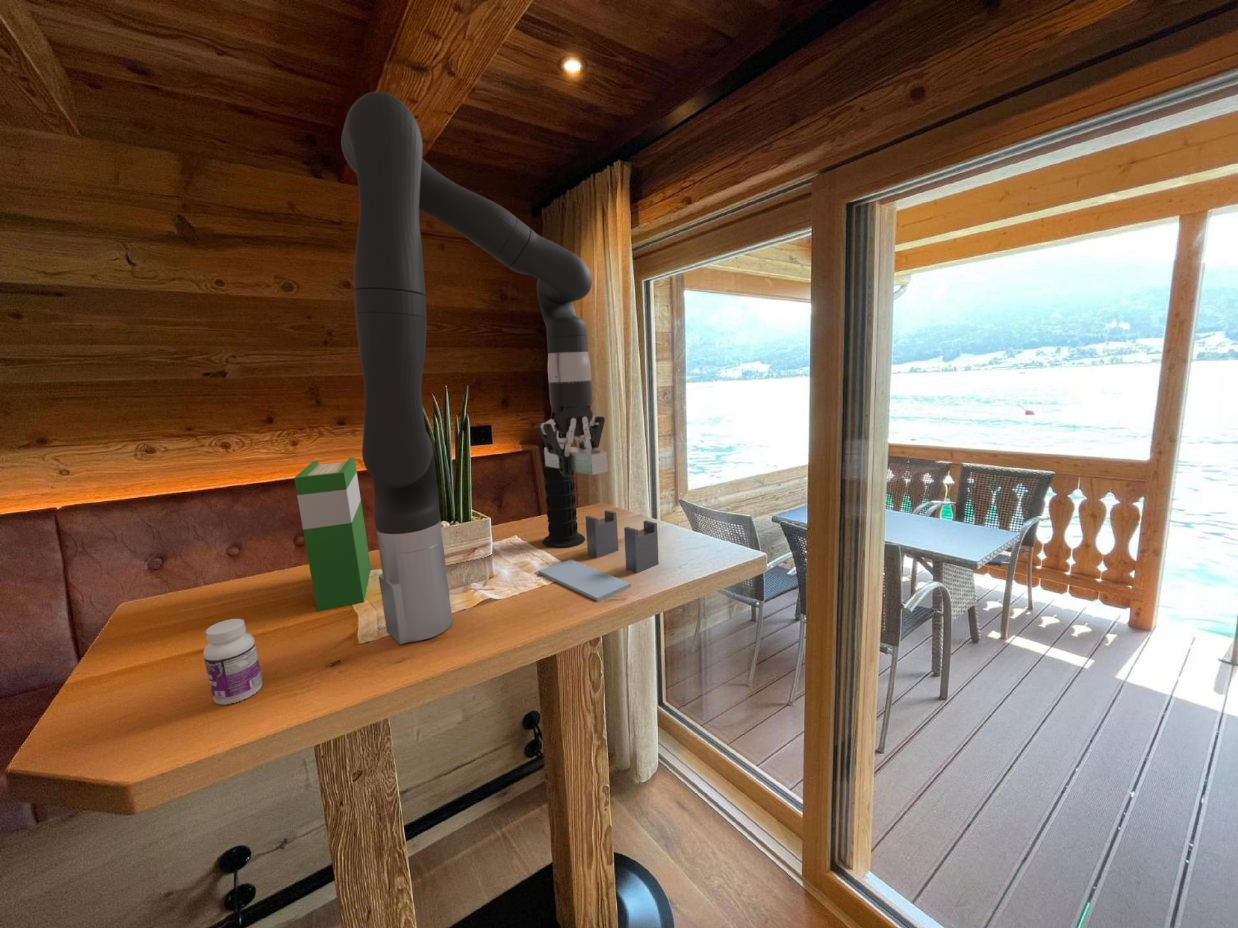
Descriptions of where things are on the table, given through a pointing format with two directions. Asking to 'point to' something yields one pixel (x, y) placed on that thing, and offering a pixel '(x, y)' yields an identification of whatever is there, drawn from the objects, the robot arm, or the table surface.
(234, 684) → the pill bottle
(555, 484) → the handle grip
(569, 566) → the mat
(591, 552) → the post left
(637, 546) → the post right
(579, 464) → the rail
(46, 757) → the table surface
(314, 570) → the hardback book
